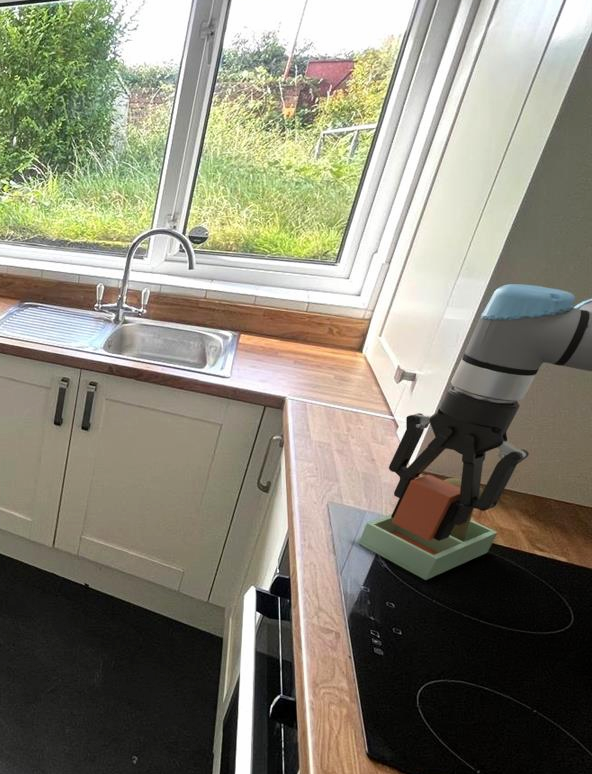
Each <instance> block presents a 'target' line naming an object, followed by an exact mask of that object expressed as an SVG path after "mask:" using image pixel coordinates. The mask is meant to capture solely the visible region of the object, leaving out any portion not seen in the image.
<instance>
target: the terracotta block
mask: <svg viewBox="0 0 592 774" xmlns="http://www.w3.org/2000/svg"><path fill="white" fill-rule="evenodd" d="M460 489H461V488H459V487H457V486H455V485H452V484H450V483H447V482H445V481H444V479H440V478H438V477H436V476H433V475H431V474H426V475H423V476H420V477H418V478H415V479H414V480H411V482H410V484H409V486H408V488H407V490H406V492H405V494H404V497H403V499H402V501H401V503H400V505H399V507H398V509H397V512H396V514H395V516H394V518H393V520H392V523H394V524H396V525H398V526H400V527H402V528H404V529H406V530H408V531H410V532H412V533H414V534H416V535H418V536H420V537H422V538H424V539H426V540H428V541H429V540H432V539H434V536H435V534H436V532H437V530H438V528H439V526H440V524H441V522H442V520H443V518H444V516H445V514H446V512H447V510H448V508H449V506H450V504H451V503H452V502H455V501H458V500H459V498H460Z"/></svg>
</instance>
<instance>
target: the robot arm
mask: <svg viewBox="0 0 592 774" xmlns="http://www.w3.org/2000/svg"><path fill="white" fill-rule="evenodd" d="M575 300H576V297H575V295H574V294H573V293H571V292H570V291H566V290H562V289H559V288H558V289H557V288H550V287H545V286H540V285H534V284H533V285H532V284H524V283H523V284H519V283H515V284H514V283H509V284H505V285H501V286H499V287H498V288H496V289H495V290H494V292H493V294H492V295H491V297H490V299H489V300H488V302H487V304H486V307H485V308H484V310H483V312H481V314H480V316H479V319H478V321H477V323H476V326H475V329H474V330H473V333H472V335H471V337H470V340H469V342H468V344H467V346H466V349H465V351H464V353H463V355H462V358H461V360H460V362H459V364H458V366H457V368H456V370H455V372H454V375H453V377H452V379H451V381H450V383H451V385H452V386H450V387H448V388H447V389H446V392H445V394H444V395H443V398H442V400H441V402H440V404H439V406H438V410H437V411H436V412H435V413H433V414H432V415H424V414H423V413H420V412H418V413H413V414H410V415H408V416H406V419H405V421H406V422H405V423H406V424H405V425H406V427H405V428H406V429H405V432H404V433H403V436H402V437H401V440H400V442H399V444H398V446H397V449H396V451H395V452H394V455H393V457H392V459H391V461H390V463H389V465H388V470H389V471H390V472H391V473H395V474H396V475H397V476H398V477H399V481H398V483H397V484H396V487H395V489H394V492H393V495H394V497H396V498H398V500H397V503H396V505H395V507H394V510H393V511H392V513H391V514H392V516H391V517H392V518H394V516H395V514H396V512H397V509H398V507H399V505H400V503H401V501H402V499H403V497H404V494H405V492H406V490H407V488H408V486H409V484H410V482H411V480H414V479H417V478H420V477H421V476H420V475H421V474H422V473H423V472H424V471H426V469H427V468H428V467H429V466H430V465H431V464H433V462H434V461H435V460H436V459H437V458H438V457H439V456H440V455H441V454H442V453H443V452H444V451H445V450H453V451H455V452H456V453H458V454H460V455H461V462H462V471H461V479H462V480H461V489H460V498H459V500H458V501H455V502H452V503H451V504H450V506H449V508H448V510H447V512H446V514H445V516H444V518H443V520H442V522H441V524H440V526H439V528H438V530H437V532H436V534H435V536H434V539H436V540H438V541H440V540H443V539H445V538H448V537H449V535H450V534H451V532H452V530H453V528H454V526H455V524H456V525H458V526H459V525H461V524H464V523H465V522H467V520H468V518H469V516H470V514H471V512H472V511H473V512H474V510H475V509H476V510H479V511H483V512H485V511H487V510H490V509H492V508H495V507H496V506H497V505H498V502H499V500H500V498H501V497H502V495H503V493H504V490H505V489H506V486H507V485H508V483H509V481H510V479H511V477H512V475H513V473H514V472H515V469H516V467H517V465H518V464H520V463H522V461H524V460H525V459H527V458H528V457H529V455H530V453H529V451H528V450H526V449H523V448H520V449H519V448H517V447H516V446H515V445H513V444H511V443H510V442H508V435H507V432H508V429H509V427H510V426H511V424H512V422H513V420H514V418H515V416H516V415H517V412H518V411H519V408H520V407H521V406H520V404H519V401H522V400H524V399H525V396H526V395H527V393H528V391H529V389H530V388H531V385H532V383H533V382H534V379H535V377H536V376H537V373H538V372H539V370H540V368H541V366H542V365H543V364H544V363H545V364H551V365H555V366H562V367H567V368H572V369H575V370H582V371H587V372H592V298H590V299H586V300H584V301H581V302H579V303H578V304H576V305H575V304H574V303H575ZM429 425H430V427H431V429H432V432H433V434H434V438H433V439H432V440H431V441H430V442H429V443H428V444H427V446H426V448H425V449H424V450H423V451H422V452H421V453H420V454H418V456H417V457H416V458H415V459H414V460H413V462H412V463H411V464H409V463H410V460H411V459H412V457H413V455H414V453H415V450H416V448H417V446H418V444H419V442H420V440H421V438H422V436H423V433H424V431H425V429H427V428H428V427H429ZM495 449H499V453H498V458H499V459H500V460H499V461H498V462H497V464H496V465H495V467H494V469H493V471H492V473H491V475H490V476H489V479H488V481H487V483H486V485H485V487H484V489H483V493H482V495H481V497H480V499H479V492H480V487H481V484H482V483H481V481H482V474H483V473H482V472H483V465H484V461H485V459H486V453H487V452H489V451H492V450H495ZM408 465H409V466H408Z"/></svg>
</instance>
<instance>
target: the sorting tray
mask: <svg viewBox="0 0 592 774" xmlns="http://www.w3.org/2000/svg"><path fill="white" fill-rule="evenodd" d="M391 516H392V513H390V514H388V515H385V516H383V517H380V518H377V519H374V520H372V521H371V520H370V521H369V522H366V524H365V526H364V529H363V530H362V532H361V536H360V538H359V540H358V542H357V544H358V545H361V546H362V547H363V548H366V549H367V550H369V551H371V552H373V553H375V554H377V555H378V556H381V557H382V558H384V559H386V560H388V561H390V562H391V563H393V564H395V565H397V566H399V567H401V568H402V569H404V570H406V571H408V572H410V573H412V574H413V575H415V576H416V577H419V578H421V579H422V580H425V581H428V580H430V579H432V578H434V577H436V576H438V575H441V574H443V573H445V572H447V571H450V570H452V569H455V568H456V567H458V566H461V565H463V564H465V563H467V562H469V561H472V560H473V559H476V558H478V557H481V556H483V555H485V554H488V552H489V550H490V548H491V546H492V545H493V543H494V541H495V539H496V537H497V536H498V534H499V532H498V531H496V530H494V529H491V528H490V527H487V526H485V525H483V524H480V523H478V522H476V521H474V520H472V519H471V520H470V523H469V527H468V530H467V534H466V537H465V541H464V542H463V541H461V540H459V539H457V538H455V537H453V536H451V535H449V537H448V538H445V539H443V540H440V541H438V540H436V539H432V540H429V541H428V540H426V539H424V538H422V537H420V536H418V535H416V534H414V533H412V532H410V531H408V530H406V529H404V528H402V527H400V526H398V525H396V524H394V523H392V520H393V518H392V517H391Z"/></svg>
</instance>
